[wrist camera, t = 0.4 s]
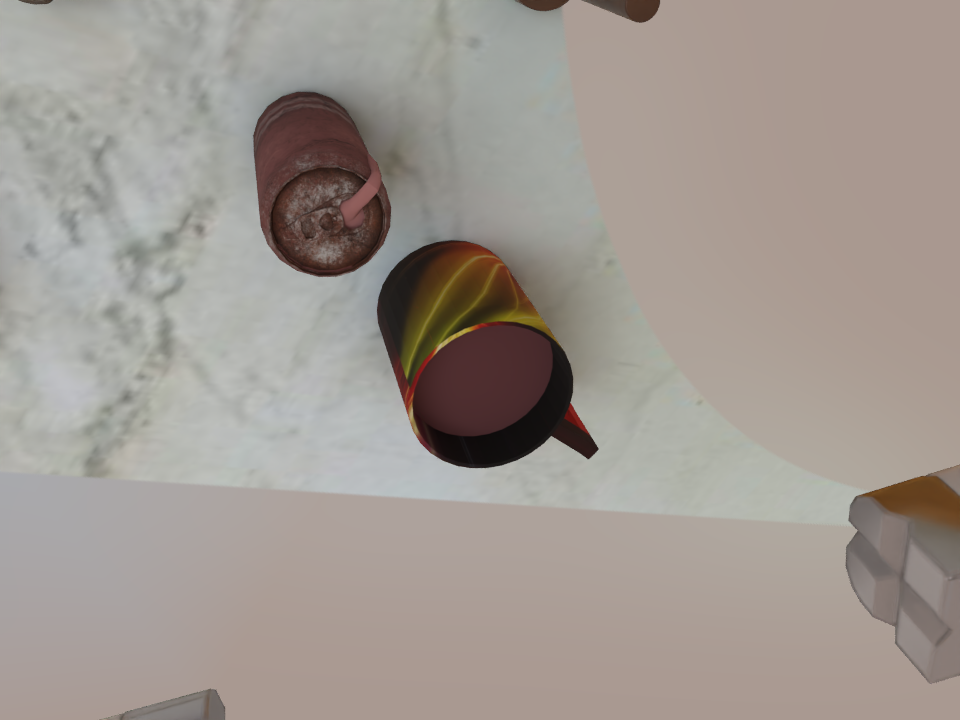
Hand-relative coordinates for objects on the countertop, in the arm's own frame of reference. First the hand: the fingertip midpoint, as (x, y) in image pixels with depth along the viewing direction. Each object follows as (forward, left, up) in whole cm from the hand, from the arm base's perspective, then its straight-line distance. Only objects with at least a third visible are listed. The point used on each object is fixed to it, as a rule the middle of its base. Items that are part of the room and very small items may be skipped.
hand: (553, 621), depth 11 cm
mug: (+20, +7, -46) cm, 51 cm away
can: (+6, -1, -46) cm, 47 cm away
